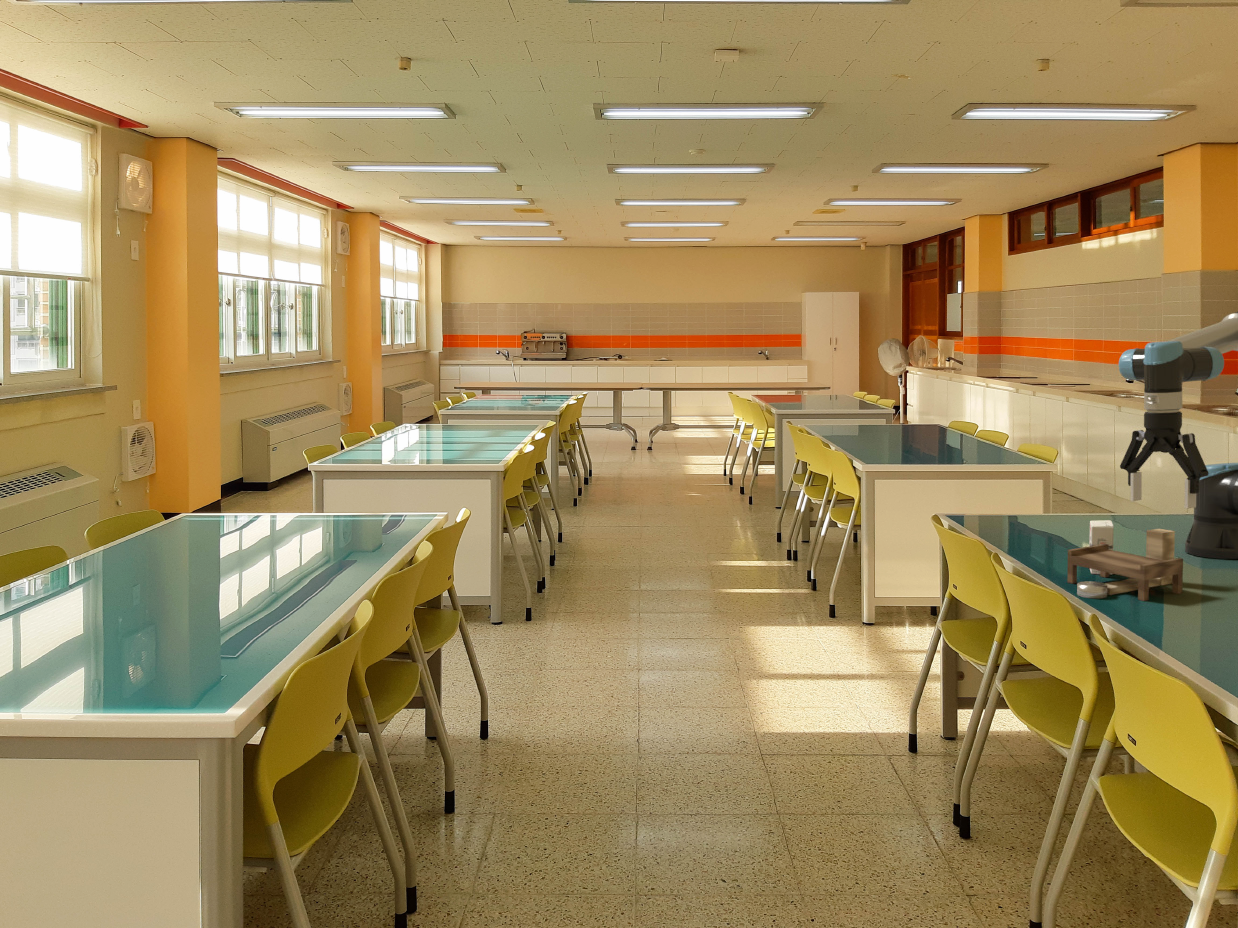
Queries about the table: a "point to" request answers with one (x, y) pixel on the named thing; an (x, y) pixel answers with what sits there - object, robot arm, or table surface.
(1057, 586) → the table surface
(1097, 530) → the ink box
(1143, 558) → the riser
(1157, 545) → the bookend
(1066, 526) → the table surface
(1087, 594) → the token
